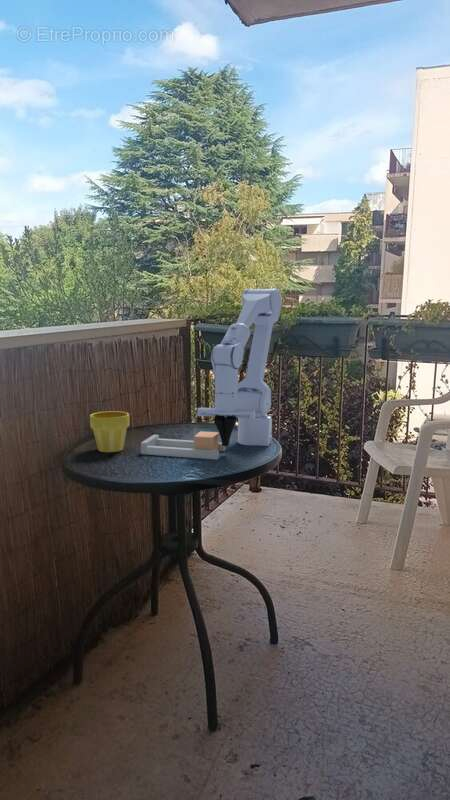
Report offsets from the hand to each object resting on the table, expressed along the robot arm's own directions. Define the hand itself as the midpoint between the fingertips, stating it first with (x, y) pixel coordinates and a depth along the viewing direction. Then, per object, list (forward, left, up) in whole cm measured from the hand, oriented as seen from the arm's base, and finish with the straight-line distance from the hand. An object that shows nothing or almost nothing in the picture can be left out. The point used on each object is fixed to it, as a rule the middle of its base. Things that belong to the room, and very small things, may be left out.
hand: (225, 445), depth 136 cm
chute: (+11, 0, -4) cm, 12 cm away
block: (+5, 0, -2) cm, 6 cm away
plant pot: (+32, -1, -4) cm, 32 cm away
